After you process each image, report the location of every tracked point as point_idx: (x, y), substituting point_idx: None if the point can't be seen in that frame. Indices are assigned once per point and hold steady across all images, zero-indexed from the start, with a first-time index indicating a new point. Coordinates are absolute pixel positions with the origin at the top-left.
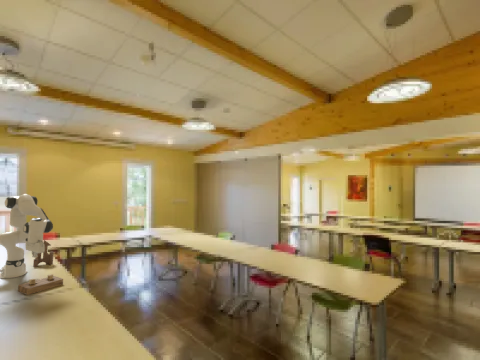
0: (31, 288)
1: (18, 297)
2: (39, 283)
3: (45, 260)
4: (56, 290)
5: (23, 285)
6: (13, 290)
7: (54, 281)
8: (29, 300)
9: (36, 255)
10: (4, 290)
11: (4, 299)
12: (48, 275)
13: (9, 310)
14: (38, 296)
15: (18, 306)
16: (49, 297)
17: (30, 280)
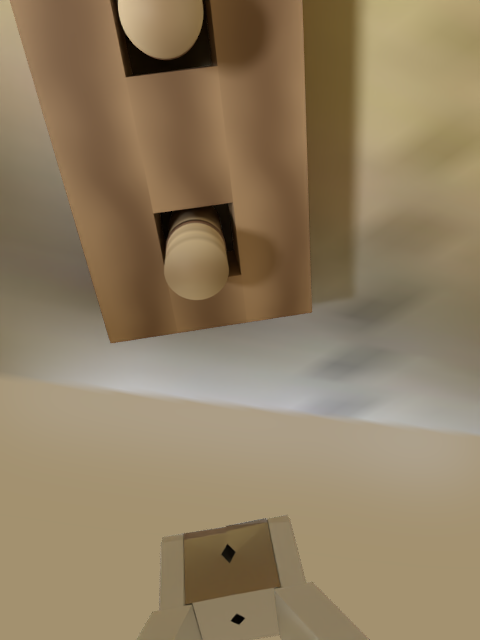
0: (309, 282)
1: (292, 341)
2: (232, 186)
3: None
4: (423, 56)
5: (165, 316)
6: (65, 332)
7: (301, 11)
8: (432, 306)
9: (304, 578)
10: (6, 376)
11: (249, 406)
12: (157, 44)
13: (476, 415)
14: (415, 238)
15: (467, 375)
16: None
17: (212, 294)
